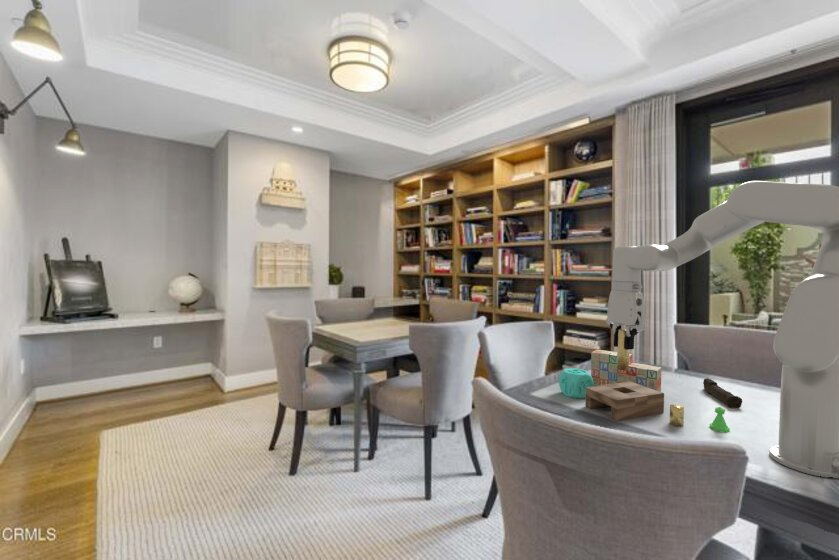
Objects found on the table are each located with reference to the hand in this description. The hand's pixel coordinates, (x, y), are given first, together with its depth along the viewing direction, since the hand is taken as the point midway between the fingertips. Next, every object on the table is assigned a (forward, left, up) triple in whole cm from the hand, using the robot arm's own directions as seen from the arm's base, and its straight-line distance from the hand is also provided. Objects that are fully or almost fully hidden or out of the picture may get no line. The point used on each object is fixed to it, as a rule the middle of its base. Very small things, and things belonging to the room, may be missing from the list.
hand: (623, 347), depth 117 cm
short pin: (-13, -5, -19) cm, 24 cm away
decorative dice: (+16, +4, -19) cm, 25 cm away
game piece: (-19, -13, -19) cm, 30 cm away
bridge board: (0, 0, -19) cm, 19 cm away
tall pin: (0, 0, -7) cm, 7 cm away
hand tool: (-3, -38, -20) cm, 43 cm away
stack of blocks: (+15, -17, -20) cm, 30 cm away
